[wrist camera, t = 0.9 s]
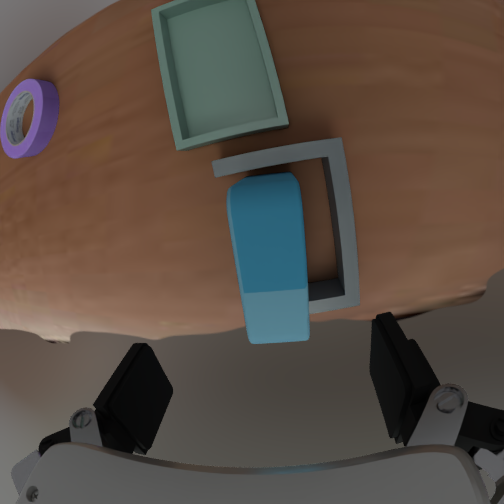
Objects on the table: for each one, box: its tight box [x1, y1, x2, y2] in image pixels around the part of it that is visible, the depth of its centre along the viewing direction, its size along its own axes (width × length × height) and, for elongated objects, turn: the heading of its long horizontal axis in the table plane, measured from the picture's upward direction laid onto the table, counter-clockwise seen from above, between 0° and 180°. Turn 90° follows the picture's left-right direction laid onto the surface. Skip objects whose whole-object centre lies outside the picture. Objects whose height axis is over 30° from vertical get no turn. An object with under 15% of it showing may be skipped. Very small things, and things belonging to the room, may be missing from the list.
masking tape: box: [0, 79, 59, 158], centre depth 24 cm, size 12×12×4 cm
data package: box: [227, 172, 310, 344], centre depth 23 cm, size 12×4×12 cm, turn 8°
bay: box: [211, 138, 360, 314], centre depth 26 cm, size 12×16×4 cm
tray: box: [151, 0, 289, 151], centre depth 21 cm, size 11×18×3 cm, turn 12°
